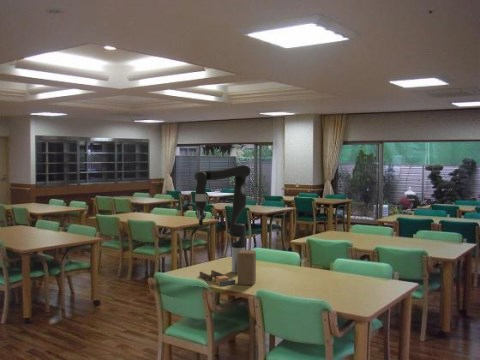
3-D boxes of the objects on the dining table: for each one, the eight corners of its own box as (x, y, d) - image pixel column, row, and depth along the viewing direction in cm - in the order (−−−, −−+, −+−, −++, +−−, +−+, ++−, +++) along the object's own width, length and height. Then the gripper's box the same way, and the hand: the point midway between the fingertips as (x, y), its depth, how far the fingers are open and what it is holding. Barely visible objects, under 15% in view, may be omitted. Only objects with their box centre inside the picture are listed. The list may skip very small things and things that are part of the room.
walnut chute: (212, 274, 321) (212, 269, 321) (224, 279, 307) (224, 274, 307) (199, 276, 316) (199, 271, 316) (210, 281, 302) (210, 276, 302)
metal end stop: (234, 283, 297) (234, 279, 297) (235, 284, 296) (235, 280, 296) (220, 285, 292) (220, 281, 292) (221, 286, 291) (221, 282, 290)
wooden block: (253, 285, 292) (253, 253, 291) (237, 284, 294) (237, 252, 293) (256, 281, 301) (256, 250, 301) (240, 281, 303) (240, 249, 303)
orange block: (224, 281, 303) (224, 275, 302) (228, 283, 297) (228, 277, 297) (215, 282, 300) (215, 276, 300) (219, 284, 295) (219, 278, 294)
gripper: (210, 200, 324) (210, 226, 325) (201, 199, 336) (201, 224, 336) (200, 201, 320) (200, 226, 321) (191, 199, 332) (191, 224, 332)
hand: (200, 225), depth 329 cm, fingers closed
